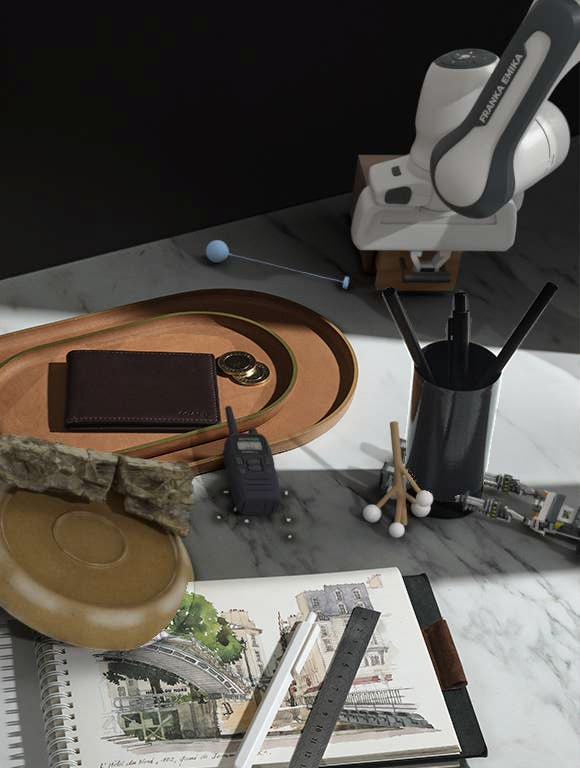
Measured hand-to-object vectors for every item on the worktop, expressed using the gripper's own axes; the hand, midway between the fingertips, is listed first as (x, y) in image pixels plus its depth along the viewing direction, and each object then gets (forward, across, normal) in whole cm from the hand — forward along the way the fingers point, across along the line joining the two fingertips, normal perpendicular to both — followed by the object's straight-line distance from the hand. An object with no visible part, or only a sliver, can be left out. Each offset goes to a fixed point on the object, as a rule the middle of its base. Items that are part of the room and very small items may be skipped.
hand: (424, 275), depth 165 cm
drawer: (+4, 0, -7) cm, 8 cm away
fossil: (-2, +44, +40) cm, 59 cm away
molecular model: (+5, +18, -8) cm, 21 cm away
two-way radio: (+4, +24, +41) cm, 47 cm away
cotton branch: (-5, +10, +36) cm, 38 cm away
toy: (+4, +10, +34) cm, 35 cm away
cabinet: (+5, 0, -16) cm, 17 cm away
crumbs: (+5, +24, +39) cm, 46 cm away
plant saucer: (-2, +42, +50) cm, 65 cm away
